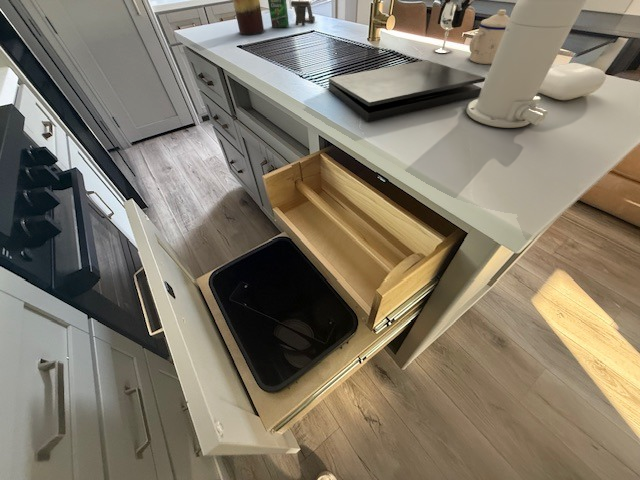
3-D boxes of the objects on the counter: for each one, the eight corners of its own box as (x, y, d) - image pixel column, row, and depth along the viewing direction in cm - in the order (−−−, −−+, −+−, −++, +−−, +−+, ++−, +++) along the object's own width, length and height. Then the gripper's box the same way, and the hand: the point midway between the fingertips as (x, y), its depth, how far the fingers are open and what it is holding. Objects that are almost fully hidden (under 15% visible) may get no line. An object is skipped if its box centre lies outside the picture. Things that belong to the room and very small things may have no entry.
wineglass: (452, 53, 86) (466, 4, 77) (433, 53, 87) (445, 4, 78) (450, 49, 90) (463, 1, 81) (432, 48, 91) (443, 1, 82)
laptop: (479, 96, 64) (482, 87, 62) (367, 121, 57) (368, 112, 55) (424, 71, 77) (426, 63, 75) (328, 89, 70) (328, 81, 69)
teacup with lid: (485, 54, 85) (502, 6, 76) (508, 61, 79) (529, 10, 71) (454, 59, 82) (468, 10, 74) (475, 68, 77) (493, 15, 68)
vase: (259, 34, 115) (248, -33, 100) (236, 35, 116) (221, -32, 101) (267, 29, 122) (257, -35, 107) (244, 29, 123) (232, -34, 108)
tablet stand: (315, 22, 129) (314, -2, 122) (308, 25, 124) (307, 1, 118) (298, 21, 131) (297, -2, 125) (291, 24, 126) (289, 1, 120)
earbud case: (521, 91, 64) (533, 66, 60) (559, 82, 67) (573, 57, 63) (561, 107, 58) (578, 79, 54) (601, 96, 61) (620, 69, 57)
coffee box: (271, 27, 124) (265, -11, 114) (273, 26, 126) (268, -12, 116) (286, 28, 122) (282, -12, 112) (289, 26, 124) (285, -12, 114)
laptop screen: (484, 82, 61) (485, 77, 61) (369, 107, 55) (369, 102, 54) (426, 63, 75) (426, 60, 75) (328, 82, 69) (328, 78, 68)
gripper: (437, -60, 75) (421, 22, 88) (484, -63, 64) (458, 31, 77) (459, -61, 77) (440, 19, 90) (508, -64, 66) (479, 28, 79)
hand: (449, 24), depth 83 cm, fingers closed on wineglass, 5 cm apart
